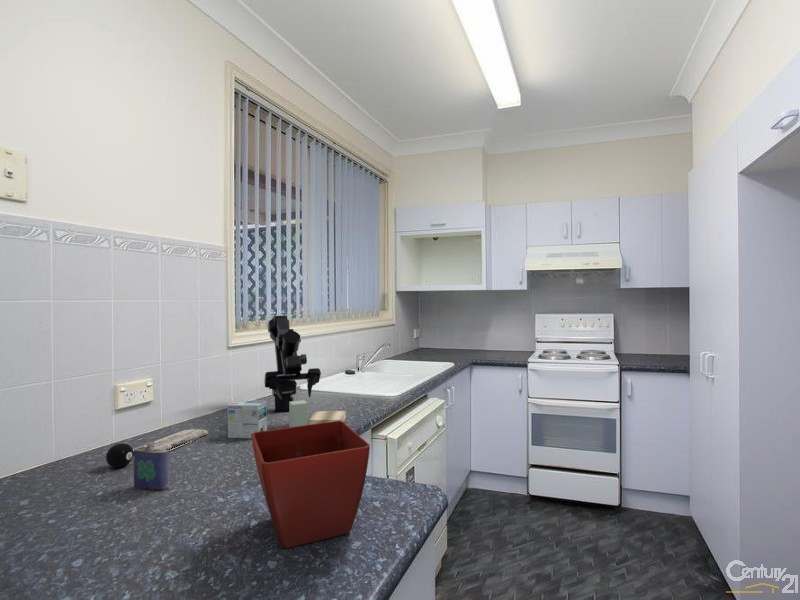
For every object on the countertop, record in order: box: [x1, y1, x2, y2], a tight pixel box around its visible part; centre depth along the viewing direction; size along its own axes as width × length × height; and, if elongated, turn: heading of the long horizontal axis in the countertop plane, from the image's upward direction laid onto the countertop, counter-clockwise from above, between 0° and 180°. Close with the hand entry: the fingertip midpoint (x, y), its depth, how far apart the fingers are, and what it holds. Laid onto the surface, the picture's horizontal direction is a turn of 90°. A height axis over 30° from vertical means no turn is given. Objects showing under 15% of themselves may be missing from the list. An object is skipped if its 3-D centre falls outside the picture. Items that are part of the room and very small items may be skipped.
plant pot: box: [251, 421, 371, 549], centre depth 85 cm, size 19×19×17 cm
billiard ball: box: [105, 443, 134, 469], centre depth 118 cm, size 6×6×6 cm
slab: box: [308, 410, 347, 425], centre depth 156 cm, size 11×12×3 cm
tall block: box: [289, 399, 309, 427], centre depth 146 cm, size 5×5×10 cm
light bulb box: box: [226, 400, 268, 439], centre depth 144 cm, size 11×7×11 cm, turn 84°
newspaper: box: [132, 428, 209, 453], centre depth 137 cm, size 23×12×2 cm, turn 161°
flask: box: [133, 441, 170, 492], centre depth 104 cm, size 9×3×11 cm, turn 74°
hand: (296, 397), depth 150 cm, fingers open, 9 cm apart
